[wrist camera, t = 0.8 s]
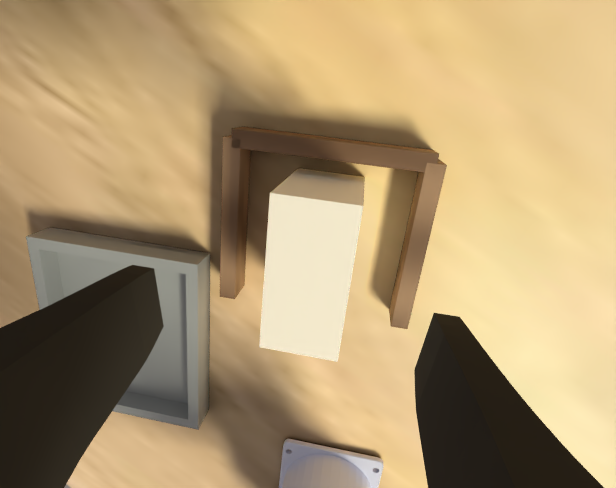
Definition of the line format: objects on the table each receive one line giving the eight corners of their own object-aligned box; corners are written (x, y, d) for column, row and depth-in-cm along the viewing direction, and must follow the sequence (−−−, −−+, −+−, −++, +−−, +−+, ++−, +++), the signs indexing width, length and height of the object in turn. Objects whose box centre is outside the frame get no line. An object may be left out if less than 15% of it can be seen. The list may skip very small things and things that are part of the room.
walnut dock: (404, 312, 24) (407, 329, 22) (230, 282, 26) (219, 296, 24) (441, 151, 21) (449, 155, 19) (235, 125, 22) (223, 127, 20)
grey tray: (208, 409, 30) (198, 429, 28) (74, 381, 31) (56, 399, 29) (210, 253, 25) (197, 264, 23) (50, 227, 26) (25, 236, 24)
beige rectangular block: (343, 305, 25) (335, 374, 18) (286, 295, 25) (258, 359, 19) (364, 176, 22) (363, 206, 15) (298, 167, 22) (269, 192, 16)
